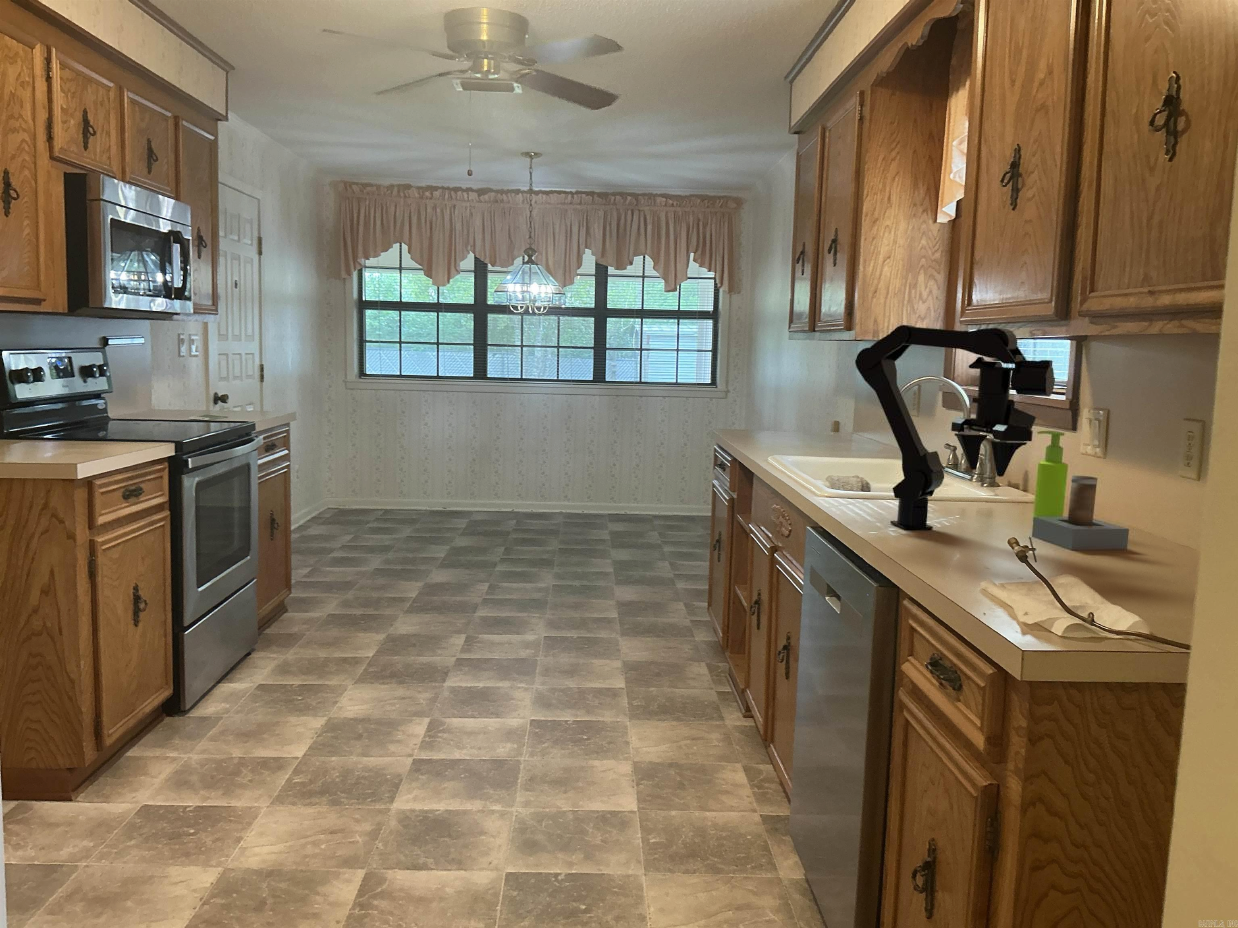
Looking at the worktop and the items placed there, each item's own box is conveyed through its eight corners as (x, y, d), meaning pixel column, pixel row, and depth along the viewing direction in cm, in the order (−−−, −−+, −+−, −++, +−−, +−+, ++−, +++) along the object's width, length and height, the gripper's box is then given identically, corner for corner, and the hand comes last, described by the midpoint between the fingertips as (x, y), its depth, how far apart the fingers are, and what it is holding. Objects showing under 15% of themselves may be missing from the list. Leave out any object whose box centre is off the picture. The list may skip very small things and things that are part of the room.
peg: (1061, 541, 182) (1067, 476, 180) (1071, 539, 185) (1078, 474, 183) (1084, 546, 179) (1091, 479, 177) (1094, 543, 182) (1101, 478, 180)
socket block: (1031, 536, 187) (1033, 516, 186) (1084, 535, 189) (1086, 516, 188) (1071, 549, 175) (1073, 529, 174) (1126, 549, 177) (1129, 528, 177)
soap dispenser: (1038, 518, 207) (1047, 429, 204) (1067, 523, 201) (1077, 432, 199) (1022, 520, 204) (1031, 429, 201) (1051, 526, 198) (1061, 433, 196)
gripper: (1061, 397, 172) (1053, 480, 174) (1002, 391, 190) (995, 466, 192) (1007, 396, 170) (1000, 480, 172) (952, 390, 188) (946, 466, 190)
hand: (986, 473), depth 182 cm, fingers open, 9 cm apart
